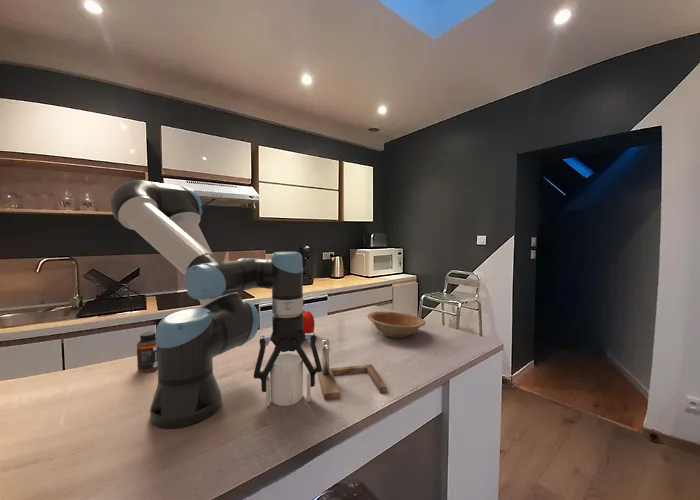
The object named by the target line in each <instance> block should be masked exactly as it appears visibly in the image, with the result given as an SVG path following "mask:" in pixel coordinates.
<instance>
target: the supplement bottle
mask: <svg viewBox="0 0 700 500" xmlns="http://www.w3.org/2000/svg"><path fill="white" fill-rule="evenodd" d="M156 334H157V332H155V331H146V332H145V331H144V332H142V333H141V334H140V335H139V339H140V340H138V341H137V342H136V343H137V344H136V357H137V358H136V360H137V371H138V372H139V373H149V372H153V371H156V370H158V365H157V345H156Z"/></svg>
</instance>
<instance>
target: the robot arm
mask: <svg viewBox="0 0 700 500" xmlns="http://www.w3.org/2000/svg"><path fill="white" fill-rule="evenodd" d="M109 198H110V199H109V208H110V211H111V213H112V216H113V217H114V218H115V220H116V221H117V222H119V223H120V224H121V225H122V226H123V227H124V228H126V229H128V230H132V231H133V230H134V231H135V232H136V233H138V235H139V236H140V237H142V238H143V239H144V240H145V241H146V242H147V243H148V244H149V245H151V246H152V247H153V248H154V249H155V250H156V251H157V252H158V253H160V255H162V256H163V257H164V258H165V259H166V260H167V261H168V262H169V263H171V264H172V265H173V266H174V267H175V268H176V269H177V270H178V271H179V272H181V274H183V275H184V276H183V277H184V278H183V284H184V285H183V286H184V289H186V293H187V294H188V296H189V297H190V298H192V299H195V300H198V301H199V303H200V306H199V307H193V308H192V307H191V308H189V309H182V310H179V311H174V312H173V313H171V314H168V315H167V316H165V317H163V318H162V319H161V320H160V321H159V322H158V324H157V327H156V345H157V365H158V369H157V386H156V389H155V392H154V396H153V399H152V402H151V405H150V409H149V416H150V417H149V418H150V422H151V424H152V425H153V426H155V427H158V428H163V429H177V428H178V429H180V428H185V427H189V426H192V425H195V424H197V423H200V422H201V421H204V420H206V419H208V418H209V417H211V416H213V414H215V413H216V412H217V411H218V410H219V409H220V407H221V404H222V392H221V389H220V387H219V385H218V382H217V379H216V377H215V374H214V368H213V367H214V366H213V365H214V364H213V363H214V361H213V359H214V358H215V357H217V356H220V355H221V354H224V353H226V352H229V351H231V350H234V349H235V348H236V347H237V348H238V347H242V346H243V345H244V344H246V343H248V342H250V341H251V340H252V339H254V337H255V336H256V335H257V333H258V331H259V326H260V315H259V312H258V309H257V308H256V306H255V305H254V304H253V303H251V302H250V301H246V300H243V299H242V297H241V295H240V292H243V291H244V292H245V291H247V290H251V289H268V290H269V289H270V290H271V295H272V297H271V301H272V302H271V303H272V305H271V307H272V308H271V310H272V314H273V315H272V332H271V335H268V336H264V335H261V336H260V337H259V351H258V356H257V359H256V364H255V368H254V371H253V378H254V379H259V380H260V381H261V383H260V384H261V386H260V387H261V388H260V389H261V390H260V391H261V393H266V394H265V395H266V398H265V399H266V401H265V403H266V406H265V407H270V406H271V405H270V404H271V397H270V370H271V368H272V367H273V365H274V363H275V361H276V359H277V357H278V356H279V354H281V353H288V352H295V351H296V354H299V356H300V357H301V359H302V361H303V364H304V366H305V367H306V370H307V371H306V399H307V402H311V399H312V397H311V396H312V395H311V393H312V392H311V391H312V390H311V389H312V388H313V387H315V384H316V374H318V372H321V371H322V364H321V361H320V357H319V353H318V349H317V345H316V341H317V339H316V338H317V336H316V333H315V331H314V332H311V333H310V334H309V333H304V331H303V314H302V312H303V311H304V293H303V291H304V290H303V281H304V278H303V277H304V267H303V256H302V255H303V254H301V253H300V252H297V251H276V252H273V253H272V254H271V258H270V259H269V258H255V257H244V258H243V257H242V258H239V259H237V260H231V261H221V260H220V259H219V258H218V257H217V256H215V255H214V253H213V252H212V250H211V248H210V246H209V244H208V242H207V240H206V238H205V236H204V234H203V232H202V230H201V228H200V226H199V224H200V222H201V217H202V215H203V209H202V207H203V203H202V200H201V197H200V196H199V194H198V193H197V192H196V191H195V190H194V189H192V188H190V187H187V186H183V185H180V184H168V183H163V182H161V183H160V182H154V181H147V180H142V179H135V180H134V179H133V180H128V181H126V182H123V183H122V184H120V185H118V186H117V187H116V188H115V189H114V190H113V192H112V193H111V195H110V197H109ZM305 338H306V339H305ZM304 340H306V341H307V343H309V345H310V349H311V352H312V356H313V360H314V363H315V365H314V366H313V363H312V362H311V360H310V358H309V357H308V355H307V353H306V352H305V350H304V349H303V346H302V345H301V344H302V343H303V342H304ZM270 342H271V343H272V344H273V345H274V349H273V351H272V353H271V355H270V357H269V358H268V361H267V363H266V364H265V366H264V367H263V370H262V371H261V368H262V363H263V360H264V357H265V352H266V347H268V346H269V344H270Z"/></svg>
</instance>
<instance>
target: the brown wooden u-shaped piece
mask: <svg viewBox="0 0 700 500" xmlns="http://www.w3.org/2000/svg"><path fill="white" fill-rule="evenodd" d="M358 373H359V374H360V373H367V374H368V376H369V378H370V379H371V381H372V383H373V384H374V386H375V387H376V389H377V391H378V392H379V394H382V393H387V392H388V386H387V385H386V383H385V381H384V380H383V379H382V377H381V375H380V374H379V373H378V371H377V370H376V368H375V367H374V365H373V364H372V363H371V364H362V365H352V366H351V365H350V366H342V367H331V368H330V367H329V374H328V375H323V374H322V371H321V372H317V377H318V380H319V385H320V388H321V389H320V390H321V393H322V396H323V399H324V400H332V399H338V398H339V399H340V390H339V387H338V384H337V382H336V379H335V376H340V375H347V374H348V375H350V374H358Z"/></svg>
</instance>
